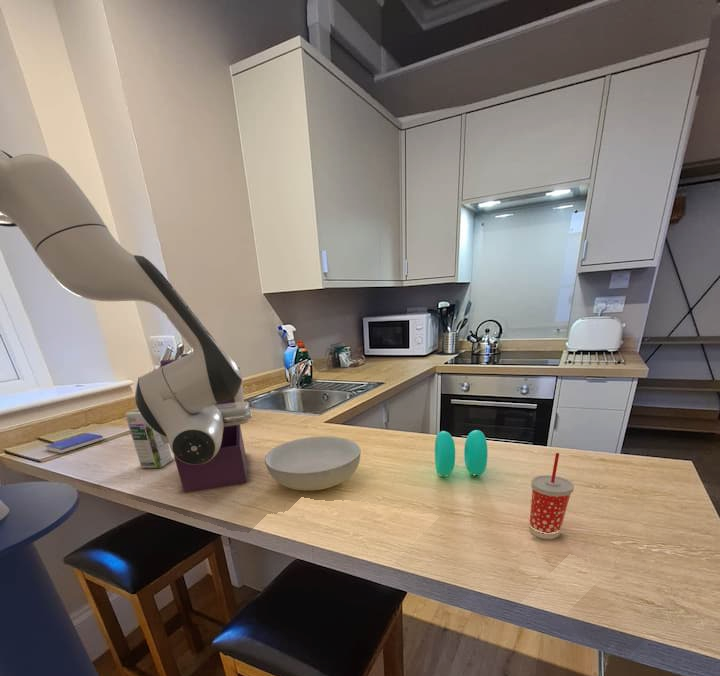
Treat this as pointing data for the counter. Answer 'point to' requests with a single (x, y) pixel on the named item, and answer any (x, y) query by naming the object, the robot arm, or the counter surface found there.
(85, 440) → the hard drive
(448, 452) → the pair of teal ovoids
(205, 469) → the box
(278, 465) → the serving bowl
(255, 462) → the counter surface
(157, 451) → the syrup box
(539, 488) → the beverage cup
